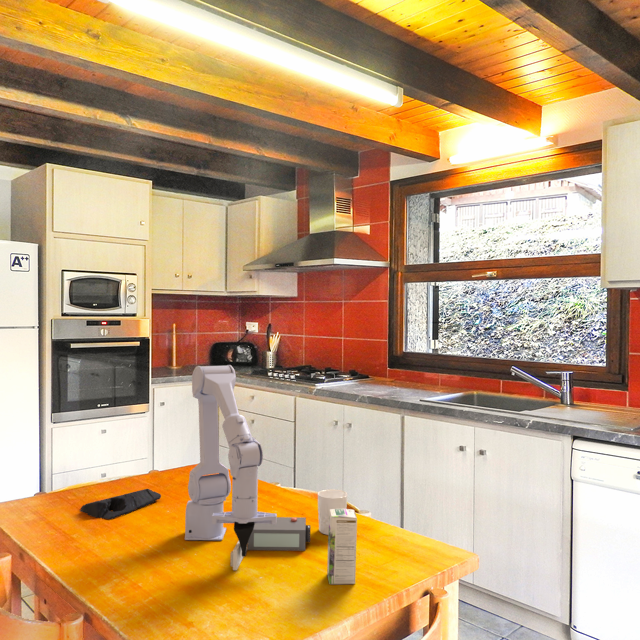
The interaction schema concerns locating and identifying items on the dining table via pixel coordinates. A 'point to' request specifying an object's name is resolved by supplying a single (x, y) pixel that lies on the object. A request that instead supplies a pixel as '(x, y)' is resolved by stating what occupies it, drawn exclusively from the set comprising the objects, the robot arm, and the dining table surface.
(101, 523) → the dining table surface
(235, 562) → the side door
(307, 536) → the camera housing
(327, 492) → the white cup
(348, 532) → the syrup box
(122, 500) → the folded black cloth
